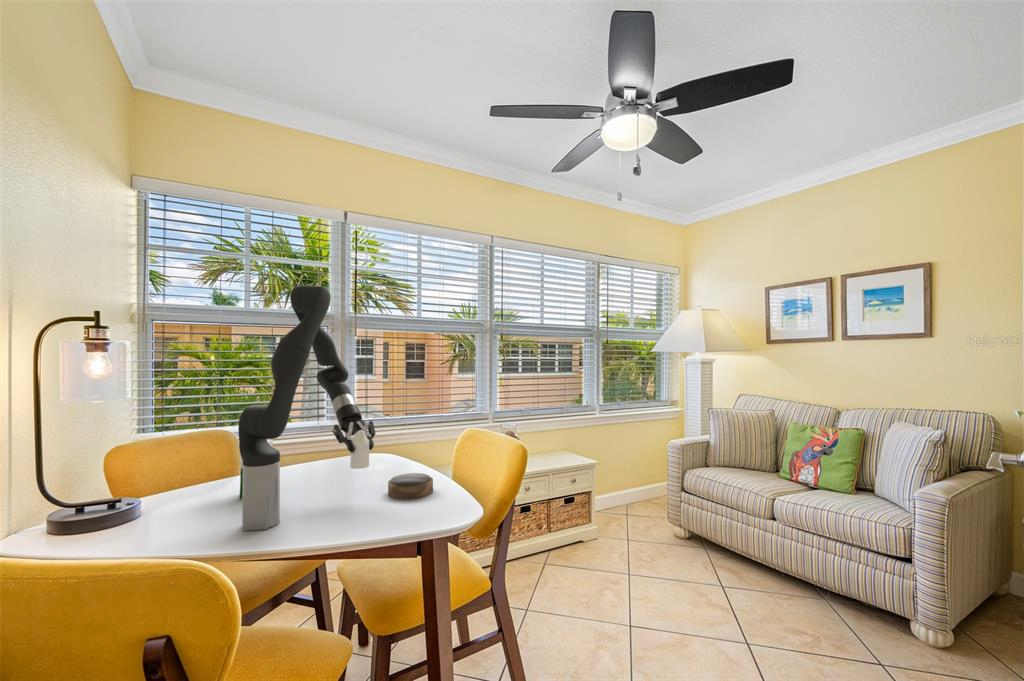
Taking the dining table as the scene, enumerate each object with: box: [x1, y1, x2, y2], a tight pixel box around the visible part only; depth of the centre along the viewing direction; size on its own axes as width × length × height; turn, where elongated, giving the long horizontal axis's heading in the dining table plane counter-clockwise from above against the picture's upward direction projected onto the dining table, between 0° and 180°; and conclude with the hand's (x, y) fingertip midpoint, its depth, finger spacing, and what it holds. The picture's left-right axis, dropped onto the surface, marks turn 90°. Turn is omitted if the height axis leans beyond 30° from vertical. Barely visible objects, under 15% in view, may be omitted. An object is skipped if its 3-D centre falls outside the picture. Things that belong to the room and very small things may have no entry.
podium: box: [387, 472, 434, 500], centre depth 156 cm, size 15×15×5 cm
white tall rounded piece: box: [350, 430, 370, 470], centre depth 150 cm, size 6×12×6 cm
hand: (362, 449), depth 149 cm, fingers closed on white tall rounded piece, 5 cm apart
